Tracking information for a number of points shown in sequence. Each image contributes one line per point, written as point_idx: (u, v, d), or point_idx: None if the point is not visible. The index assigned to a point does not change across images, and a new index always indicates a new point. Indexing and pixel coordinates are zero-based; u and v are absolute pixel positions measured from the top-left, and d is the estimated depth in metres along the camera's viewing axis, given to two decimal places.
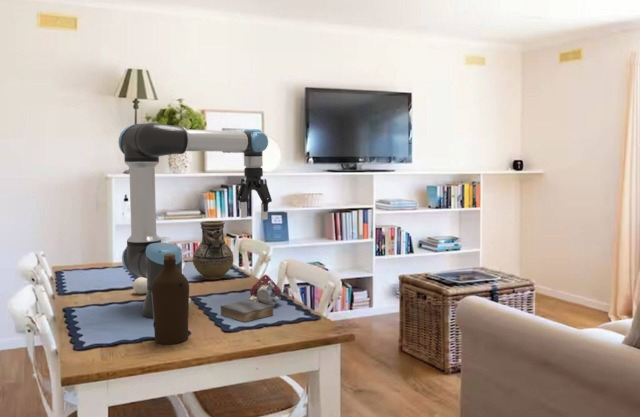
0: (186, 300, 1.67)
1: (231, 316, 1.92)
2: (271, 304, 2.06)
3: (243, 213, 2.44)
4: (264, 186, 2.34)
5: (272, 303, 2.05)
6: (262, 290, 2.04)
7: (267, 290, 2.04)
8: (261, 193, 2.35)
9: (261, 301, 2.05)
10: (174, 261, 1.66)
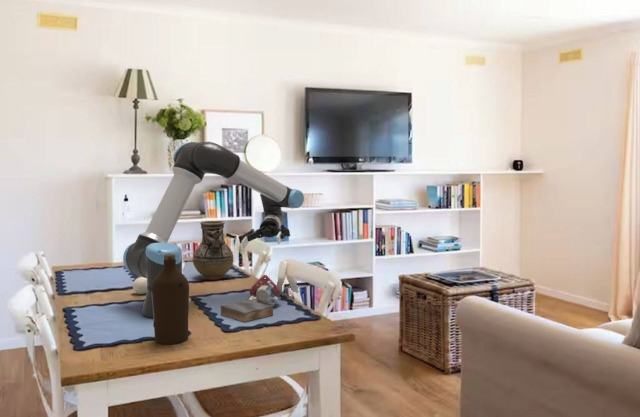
0: (186, 300, 1.67)
1: (231, 316, 1.92)
2: (270, 304, 2.05)
3: (244, 242, 2.20)
4: None
5: (271, 303, 2.05)
6: (261, 290, 2.04)
7: (266, 290, 2.04)
8: None
9: (260, 301, 2.05)
10: (174, 261, 1.66)
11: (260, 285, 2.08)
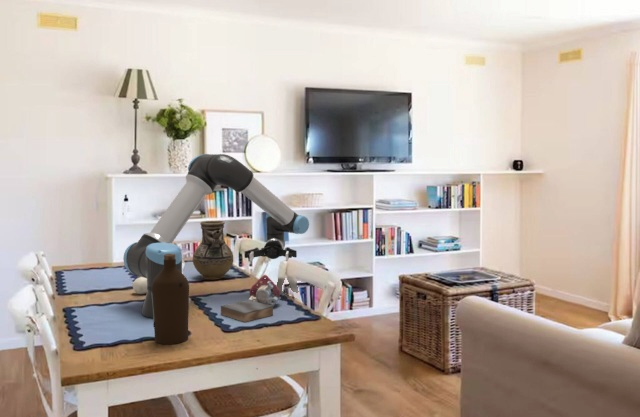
0: (186, 300, 1.67)
1: (231, 316, 1.92)
2: (270, 304, 2.05)
3: (252, 255, 2.20)
4: None
5: (271, 303, 2.05)
6: (261, 290, 2.04)
7: (266, 290, 2.04)
8: None
9: (260, 301, 2.05)
10: (174, 261, 1.66)
11: (260, 285, 2.08)
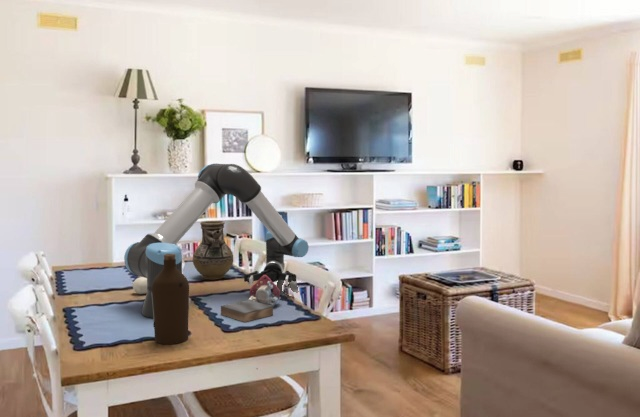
0: (186, 300, 1.67)
1: (231, 316, 1.92)
2: (270, 304, 2.05)
3: (251, 280, 2.19)
4: None
5: (271, 303, 2.05)
6: (261, 290, 2.04)
7: (266, 290, 2.04)
8: None
9: (260, 301, 2.05)
10: (174, 261, 1.66)
11: (260, 285, 2.08)
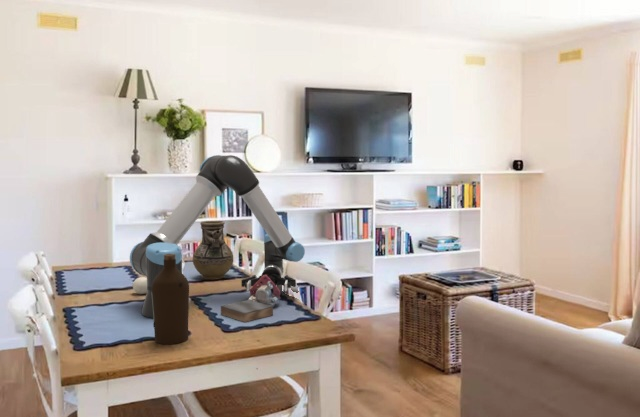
0: (186, 300, 1.67)
1: (231, 316, 1.92)
2: (270, 305, 2.05)
3: (249, 285, 2.10)
4: None
5: (270, 304, 2.04)
6: (260, 290, 2.04)
7: (265, 290, 2.04)
8: None
9: (260, 301, 2.05)
10: (174, 261, 1.66)
11: (260, 285, 2.08)
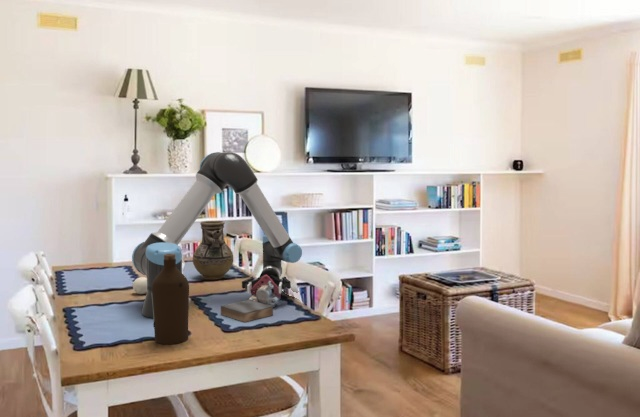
0: (186, 300, 1.67)
1: (231, 316, 1.92)
2: (270, 304, 2.05)
3: (249, 287, 2.06)
4: None
5: (271, 304, 2.04)
6: (261, 290, 2.04)
7: (266, 290, 2.03)
8: None
9: (260, 301, 2.05)
10: (174, 261, 1.66)
11: (261, 285, 2.08)
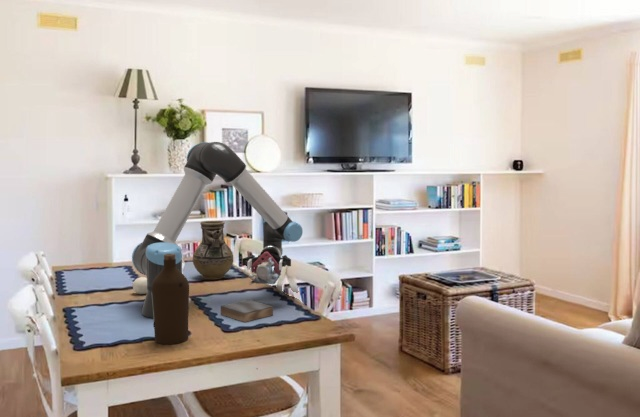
0: (186, 300, 1.67)
1: (231, 316, 1.92)
2: (270, 281, 2.04)
3: (250, 263, 2.06)
4: None
5: (271, 280, 2.04)
6: (261, 266, 2.03)
7: (266, 267, 2.03)
8: None
9: (260, 278, 2.04)
10: (174, 261, 1.66)
11: (261, 262, 2.07)
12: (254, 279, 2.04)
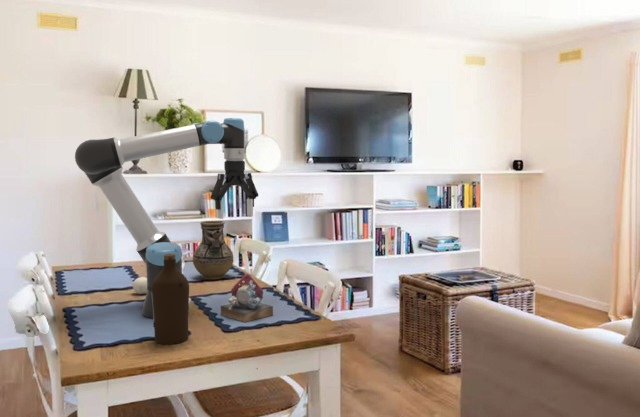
0: (186, 300, 1.67)
1: (231, 316, 1.92)
2: (251, 306, 1.91)
3: (248, 211, 2.22)
4: (217, 181, 2.11)
5: (252, 305, 1.91)
6: (241, 290, 1.90)
7: (247, 290, 1.90)
8: (221, 189, 2.13)
9: (241, 302, 1.91)
10: (174, 261, 1.66)
11: (242, 285, 1.94)
12: (234, 304, 1.91)
